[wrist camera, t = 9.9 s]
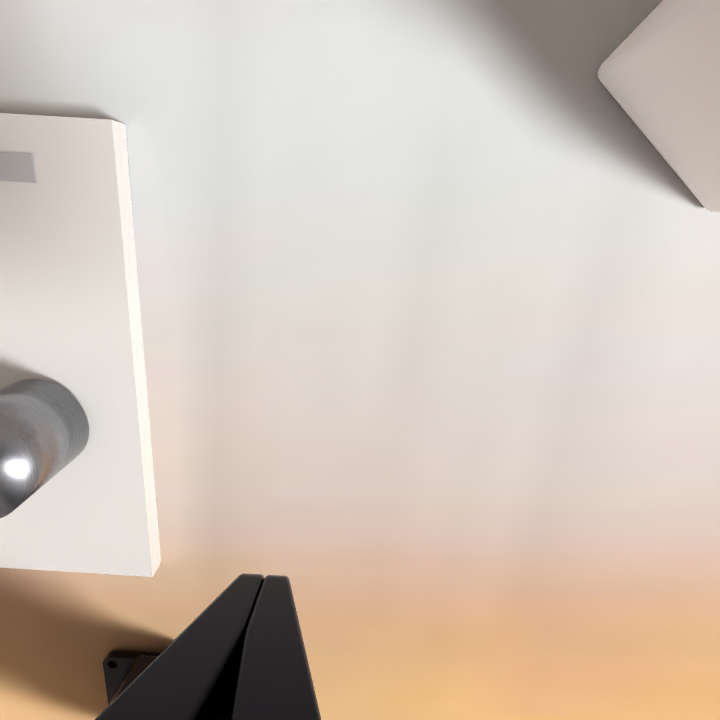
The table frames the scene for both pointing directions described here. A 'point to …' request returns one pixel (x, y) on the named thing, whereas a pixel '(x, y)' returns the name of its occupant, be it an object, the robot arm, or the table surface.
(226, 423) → the table surface
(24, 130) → the base
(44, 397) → the lock lever
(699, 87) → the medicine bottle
